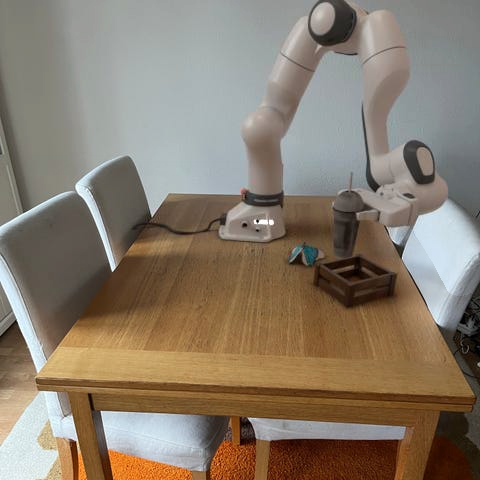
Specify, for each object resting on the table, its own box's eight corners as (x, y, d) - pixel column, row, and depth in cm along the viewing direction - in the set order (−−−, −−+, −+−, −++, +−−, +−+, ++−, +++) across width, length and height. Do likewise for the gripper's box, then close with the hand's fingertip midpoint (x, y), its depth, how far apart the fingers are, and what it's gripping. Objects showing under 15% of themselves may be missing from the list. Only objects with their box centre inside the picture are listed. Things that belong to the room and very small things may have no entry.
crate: (347, 308, 116) (350, 286, 113) (313, 284, 127) (315, 263, 124) (393, 295, 121) (397, 274, 118) (357, 273, 133) (359, 253, 130)
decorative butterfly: (280, 251, 136) (292, 232, 142) (281, 269, 140) (293, 250, 147) (315, 257, 132) (325, 237, 139) (315, 275, 137) (325, 255, 143)
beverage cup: (360, 250, 119) (370, 168, 109) (356, 261, 113) (367, 176, 103) (330, 247, 121) (338, 166, 111) (325, 257, 115) (333, 173, 105)
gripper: (365, 179, 123) (320, 186, 118) (424, 201, 107) (375, 210, 102) (361, 203, 126) (318, 211, 121) (418, 227, 110) (371, 237, 105)
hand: (345, 211), depth 111 cm, fingers closed on beverage cup, 7 cm apart
